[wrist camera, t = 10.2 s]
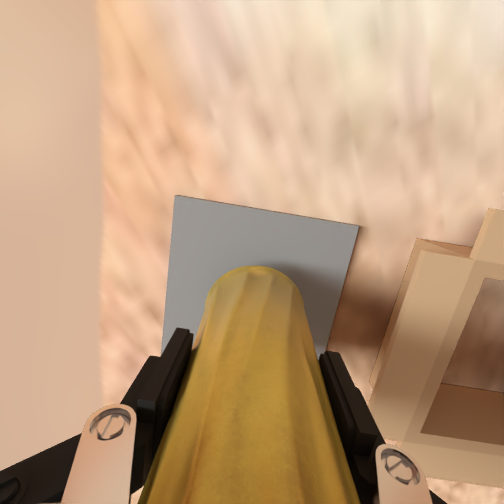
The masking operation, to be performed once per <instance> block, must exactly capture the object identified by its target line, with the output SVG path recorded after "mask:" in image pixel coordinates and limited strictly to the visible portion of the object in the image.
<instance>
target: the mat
mask: <svg viewBox="0 0 504 504" xmlns="http://www.w3.org/2000/svg"><path fill="white" fill-rule="evenodd" d="M358 229H359V226H357V225H353V224H347V223H341V222H335V221H329V220H323V219H317V218H311V217H305V216H299V215H293V214H287V213H281V212H275V211H269V210H263V209H258V208H252V207H246V206H240V205H234V204H228V203H222V202H216V201H210V200H204V199H198V198H192V197H186V196H180V195H175V199H174V211H173V222H172V234H171V245H170V257H169V268H168V280H167V291H166V303H165V314H164V326H163V337H162V349H161V355H162V353H163V351H164V349H165V348H166V346H167V344H168V342H169V340H170V339H171V337H172V335H173V333H174V331H175V329H176V328H177V327H178V328H184V329H189V330H190V333H193V334H194V337H193V344H194V341H195V338H196V335H197V332H198V329H199V325H200V322H201V320H202V317H203V314H204V310H205V301H206V298H207V295H208V293H209V291H210V289H211V287H212V286H213V284H214V283H215V282H216V281H217V280H218V279H219V278H220V277H221V276H222V275H224V274H225V273H227V272H229V271H231V270H233V269H235V268H238V267H242V266H266V267H270V268H274V269H276V270H278V271H280V272H281V273H283V274H284V275H286V276H287V277H288V278H289V279H290V280H292V281H293V283H294V284H295V285H296V287H297V288H298V290H299V292H300V294H301V296H302V299H303V302H304V310H305V314H306V317H307V321H308V324H309V328H310V332H311V335H312V339H313V343H314V347H315V350H316V354H317V358H318V360H319V356H320V354H321V353H322V354H324V352H325V350H326V347H327V343H328V339H329V336H330V332H331V328H332V325H333V321H334V317H335V314H336V310H337V306H338V303H339V299H340V295H341V291H342V288H343V284H344V280H345V277H346V273H347V269H348V266H349V262H350V258H351V255H352V251H353V247H354V244H355V240H356V236H357V233H358ZM192 347H193V345H192Z"/></svg>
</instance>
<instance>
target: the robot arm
mask: <svg viewBox="0 0 504 504" xmlns="http://www.w3.org/2000/svg"><path fill="white" fill-rule="evenodd" d="M193 337H194V334H193V333H190V330H189V329H184V328H178V327H177V328H176V329H175V331H174V333H173V335H172V337H171V339H170V340H169V342H168V344H167V346H166V348H165V349H164V351H163V353H162V355H161V357H157V356H149V358H148V359H147V361H146V362H145V364H144V366H143V367H142V369H141V370H140V372H139V374H138V375H137V377H136V379H135V380H134V382H133V383H132V385H131V387H130V388H129V390H128V392H127V393H126V395H125V396H124V398H123V400H122V401H121V403H120V404H113V405H108V406H105V407H103V408H101V409H99V410H98V411H96V412H95V413H93V414H92V415H91V416H90V418H89V419H88V420H87V421H86V423H85V425H84V428H83V431H82V433H81V434H79V435H77V436H74V437H72V438H70V439H68V440H66V441H64V442H62V443H59V444H57V445H55V446H53V447H51V448H49V449H47V450H44V451H42V452H40V453H38V454H36V455H34V456H32V457H30V458H27V459H25V460H23V461H21V462H19V463H17V464H15V465H12V466H10V467H8V468H6V469H4V470H2V471H0V504H131V496H132V494H133V493H134V492H136V491H137V490H139V489H140V488H141V487H142V486H144V485H145V482H146V480H147V477H148V474H149V471H150V469H151V466H152V463H153V461H154V458H155V455H156V453H157V450H158V447H159V445H160V442H161V439H162V437H163V434H164V431H165V429H166V426H167V423H168V421H169V418H170V415H171V413H172V409H173V406H174V403H175V400H176V396H177V393H178V390H179V387H180V384H181V381H182V378H183V376H184V373H185V371H186V367H187V364H188V361H189V358H190V355H191V352H192V345H193ZM318 361H319V365H320V368H321V372H322V376H323V379H324V383H325V387H326V390H327V394H328V397H329V401H330V404H331V408H332V411H333V415H334V418H335V422H336V425H337V429H338V432H339V436H340V439H341V442H342V446H343V449H344V452H345V456H346V459H347V462H348V465H349V469H350V472H351V475H352V478H353V481H354V484H355V487H356V490H357V494H358V497H359V500H360V503H361V504H447V503H446V502H444V501H443V500H442V499H441V498H439V497H438V496H437V495H436V494H434V493H433V492H432V491H431V490H429V488H428V485H427V481H426V477H425V475H424V472H423V470H422V468H421V467H420V465H419V464H418V462H417V461H416V460H415V459H414V458H413V457H412V456H411V455H410V454H408V453H407V452H406V451H404V450H403V449H401V448H399V447H397V446H394V445H391V444H386V443H385V441H384V439H383V437H382V435H381V433H380V431H379V429H378V427H377V425H376V423H375V420H374V418H373V416H372V414H371V412H370V410H369V408H368V406H367V404H366V402H365V400H364V398H363V396H362V394H361V392H360V390H359V389H358V388H357V387H355V385H354V383H353V381H352V379H351V377H350V375H349V373H348V370H347V368H346V366H345V364H344V362H343V360H342V358H341V355H340V354H339V353H337V352H331V351H325V352H324V354H322V353H321V354H320V356H319V360H318Z"/></svg>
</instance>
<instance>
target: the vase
mask: <svg viewBox="0 0 504 504" xmlns="http://www.w3.org/2000/svg"><path fill="white" fill-rule="evenodd" d="M138 504H361V503H360V500H359V497H358V494H357V490H356V487H355V484H354V481H353V478H352V475H351V472H350V469H349V465H348V462H347V459H346V456H345V452H344V449H343V446H342V442H341V439H340V436H339V432H338V429H337V425H336V422H335V418H334V415H333V411H332V408H331V404H330V401H329V397H328V394H327V390H326V387H325V383H324V379H323V376H322V372H321V368H320V365H319V361H318V358H317V354H316V350H315V347H314V343H313V339H312V335H311V332H310V328H309V324H308V321H307V317H306V314H305V310H304V302H303V299H302V296H301V294H300V292H299V290H298V288H297V287H296V285H295V284H294V283H293V281H292V280H290V279H289V278H288V277H287V276H286V275H284V274H283V273H281V272H280V271H278V270H276V269H274V268H270V267H266V266H242V267H238V268H235V269H233V270H231V271H229V272H227V273H225V274H224V275H222V276H221V277H220V278H219V279H218V280H217V281H216V282H215V283H214V284H213V286H212V287H211V289H210V291H209V293H208V295H207V298H206V301H205V310H204V314H203V317H202V320H201V322H200V325H199V329H198V332H197V335H196V338H195V341H194V344H193V347H192V352H191V355H190V358H189V361H188V364H187V367H186V371H185V373H184V376H183V378H182V381H181V384H180V387H179V390H178V393H177V396H176V400H175V403H174V406H173V409H172V413H171V415H170V418H169V421H168V423H167V426H166V429H165V431H164V434H163V437H162V439H161V442H160V445H159V447H158V450H157V453H156V455H155V458H154V461H153V463H152V466H151V469H150V471H149V474H148V477H147V480H146V482H145V485H144V488H143V490H142V493H141V496H140V499H139V501H138Z"/></svg>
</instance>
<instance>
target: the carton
mask: <svg viewBox="0 0 504 504" xmlns="http://www.w3.org/2000/svg"><path fill="white" fill-rule="evenodd" d="M484 278H491V279H497V280H503V281H504V210H498V209H490V208H488V211H487V213H486V216H485V219H484V221H483V224H482V226H481V229H480V231H479V234H478V236H477V239H476V241H475V244H474V246H473V248H472V247H466V246H460V245H454V244H448V243H442V242H436V241H430V240H424V239H418V238H417V239H416V242H415V245H414V248H413V251H412V254H411V257H410V260H409V263H408V266H407V269H406V272H405V275H404V278H403V281H402V284H401V287H400V290H399V293H398V296H397V299H396V302H395V305H394V308H393V311H392V314H391V317H390V320H389V323H388V326H387V329H386V332H385V335H384V338H383V342H382V345H381V348H380V351H379V354H378V357H377V360H376V363H375V366H374V369H373V372H372V375H371V378H370V381H369V382H370V384H371V385H372V387H373V392H372V395H371V398H370V401H369V404H368V408H369V410H370V412H371V414H372V416H373V418H374V420H375V423H376V425H377V427H378V429H379V431H380V433H381V435H382V437H383V439H389V440H396V441H397V442H396V445H395V446H397V447H399V448H401V449H403V450H404V451H406V452H407V453H408V454H410V455H411V456H412V457H413V458H414V459H415V460H416V461H417V462H418V464H419V465H420V467H421V468H422V470H423V472H424V475H425V477H427V478H434V479H441V480H448V481H455V482H462V483H469V484H476V485H483V486H490V487H497V488H503V489H504V393H500V392H494V391H487V390H481V389H474V388H468V387H461V386H455V385H448V384H442V383H441V381H442V379H443V376H444V374H445V372H446V369H447V367H448V364H449V362H450V360H451V357H452V355H453V352H454V350H455V348H456V345H457V343H458V340H459V338H460V336H461V333H462V331H463V329H464V326H465V324H466V321H467V319H468V317H469V314H470V312H471V309H472V307H473V305H474V302H475V300H476V297H477V295H478V293H479V290H480V288H481V285H482V283H483V281H484Z"/></svg>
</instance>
